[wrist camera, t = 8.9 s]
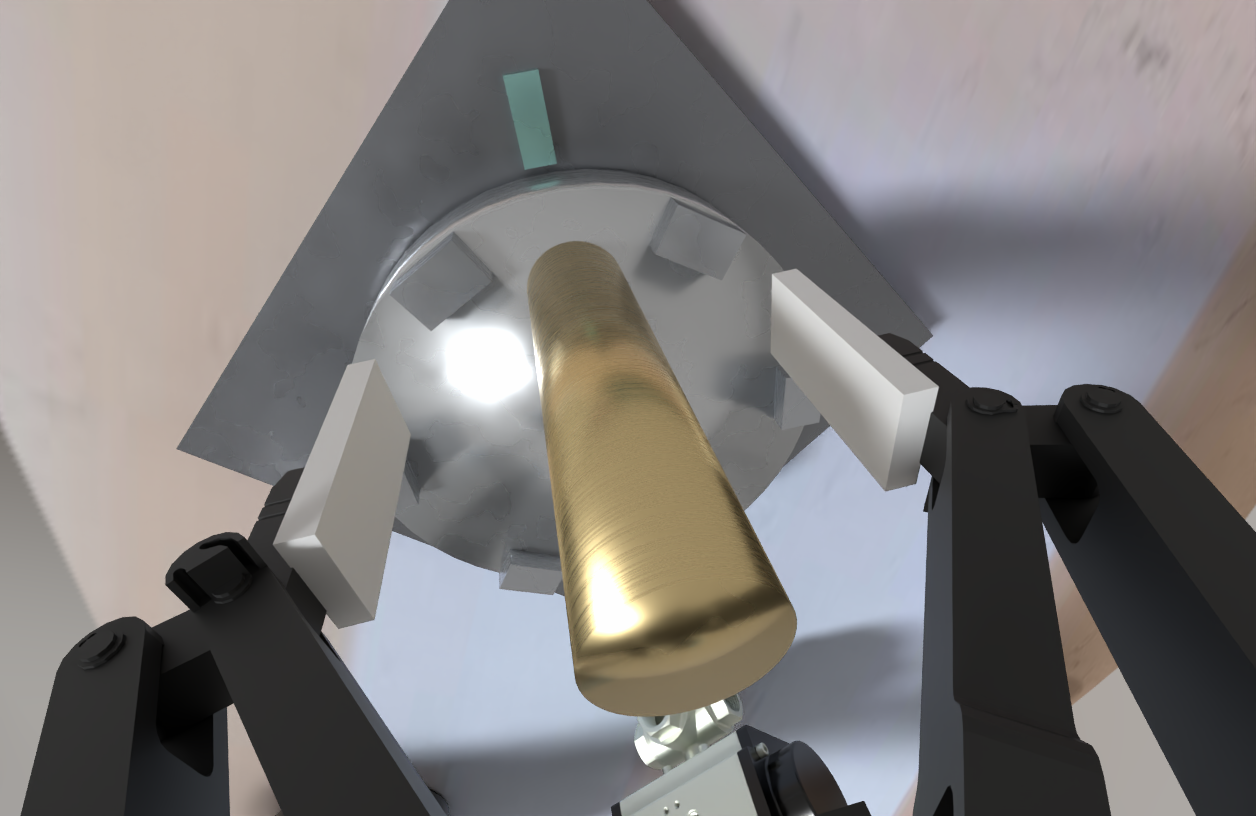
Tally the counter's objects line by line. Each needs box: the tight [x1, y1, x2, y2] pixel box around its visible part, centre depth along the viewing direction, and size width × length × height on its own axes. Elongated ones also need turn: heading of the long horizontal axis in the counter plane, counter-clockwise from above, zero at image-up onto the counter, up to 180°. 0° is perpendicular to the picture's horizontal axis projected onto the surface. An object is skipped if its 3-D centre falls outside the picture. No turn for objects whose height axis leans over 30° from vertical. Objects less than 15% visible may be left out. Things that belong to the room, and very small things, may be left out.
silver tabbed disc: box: [352, 169, 820, 717], centre depth 20 cm, size 20×20×18 cm
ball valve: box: [611, 693, 848, 816], centre depth 42 cm, size 18×8×18 cm, turn 132°
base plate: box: [177, 0, 933, 596], centre depth 28 cm, size 26×26×3 cm
